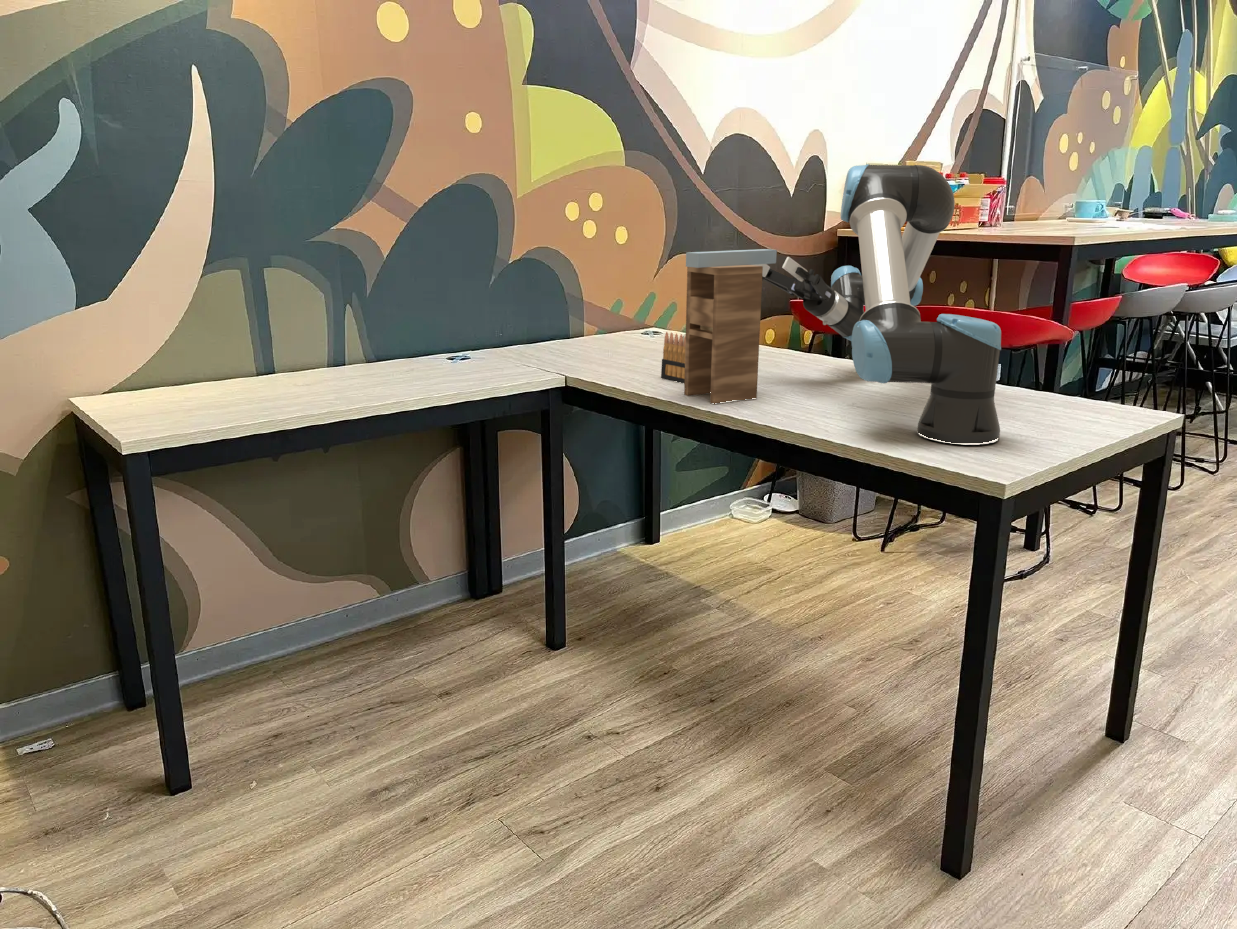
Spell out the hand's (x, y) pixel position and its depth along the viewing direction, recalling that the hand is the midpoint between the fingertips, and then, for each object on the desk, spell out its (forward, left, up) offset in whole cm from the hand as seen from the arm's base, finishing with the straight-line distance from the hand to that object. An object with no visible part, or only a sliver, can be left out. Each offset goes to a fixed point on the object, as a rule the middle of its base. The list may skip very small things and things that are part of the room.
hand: (766, 260), depth 214 cm
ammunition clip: (+23, -1, -31) cm, 38 cm away
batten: (+5, +8, -1) cm, 10 cm away
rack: (+6, +11, -31) cm, 33 cm away
